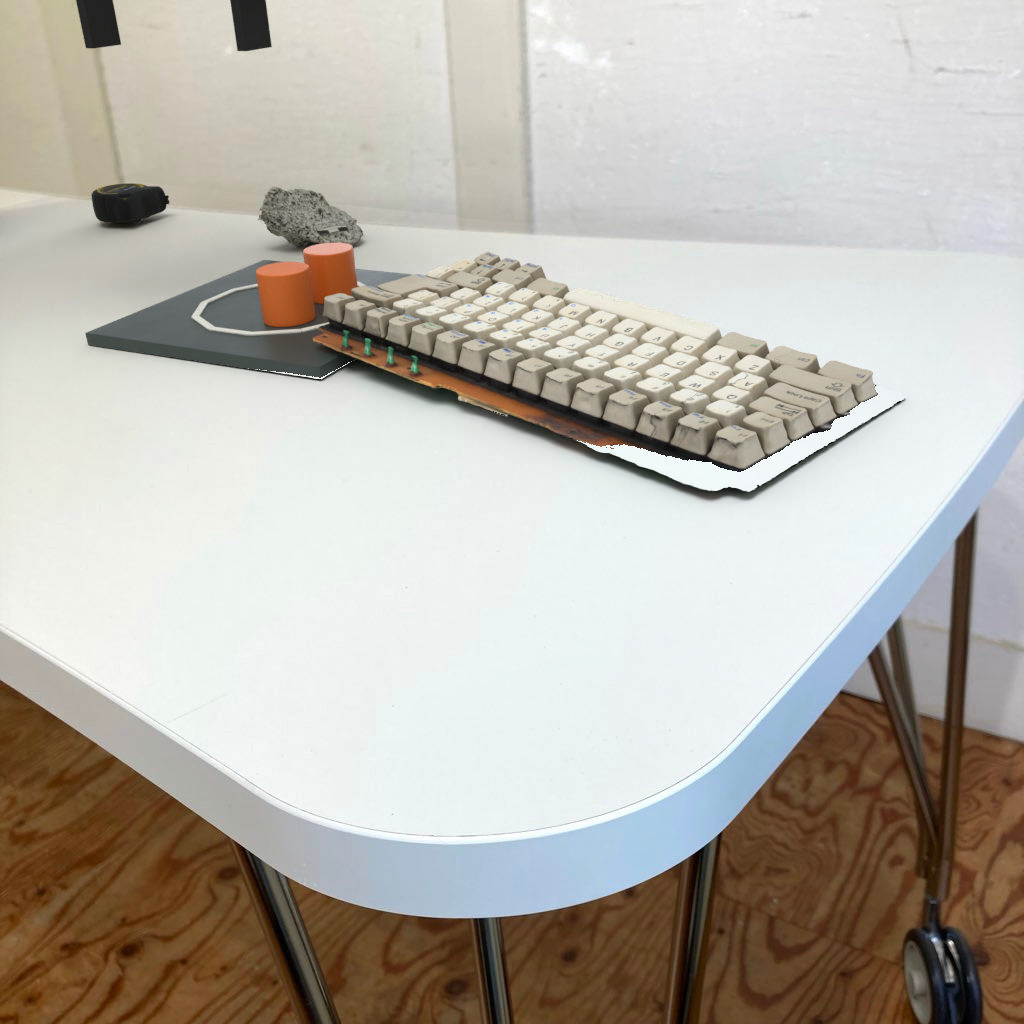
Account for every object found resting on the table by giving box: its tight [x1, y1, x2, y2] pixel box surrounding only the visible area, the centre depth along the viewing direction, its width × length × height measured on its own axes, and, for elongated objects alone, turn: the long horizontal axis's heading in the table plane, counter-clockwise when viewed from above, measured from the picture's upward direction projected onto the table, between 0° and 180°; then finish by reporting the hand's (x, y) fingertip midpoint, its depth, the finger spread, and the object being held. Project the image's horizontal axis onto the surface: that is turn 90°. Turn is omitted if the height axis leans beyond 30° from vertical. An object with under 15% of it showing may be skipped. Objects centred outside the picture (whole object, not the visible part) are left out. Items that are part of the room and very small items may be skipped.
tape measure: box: [91, 182, 170, 225], centre depth 119 cm, size 7×7×4 cm
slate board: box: [85, 259, 425, 378], centre depth 86 cm, size 22×22×1 cm
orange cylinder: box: [256, 261, 316, 327], centre depth 81 cm, size 4×4×4 cm
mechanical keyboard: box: [313, 251, 878, 472], centre depth 71 cm, size 38×19×3 cm, turn 46°
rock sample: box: [257, 182, 364, 247], centre depth 106 cm, size 10×8×9 cm
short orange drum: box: [302, 243, 358, 304], centre depth 86 cm, size 4×4×4 cm
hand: (176, 48), depth 74 cm, fingers open, 13 cm apart
